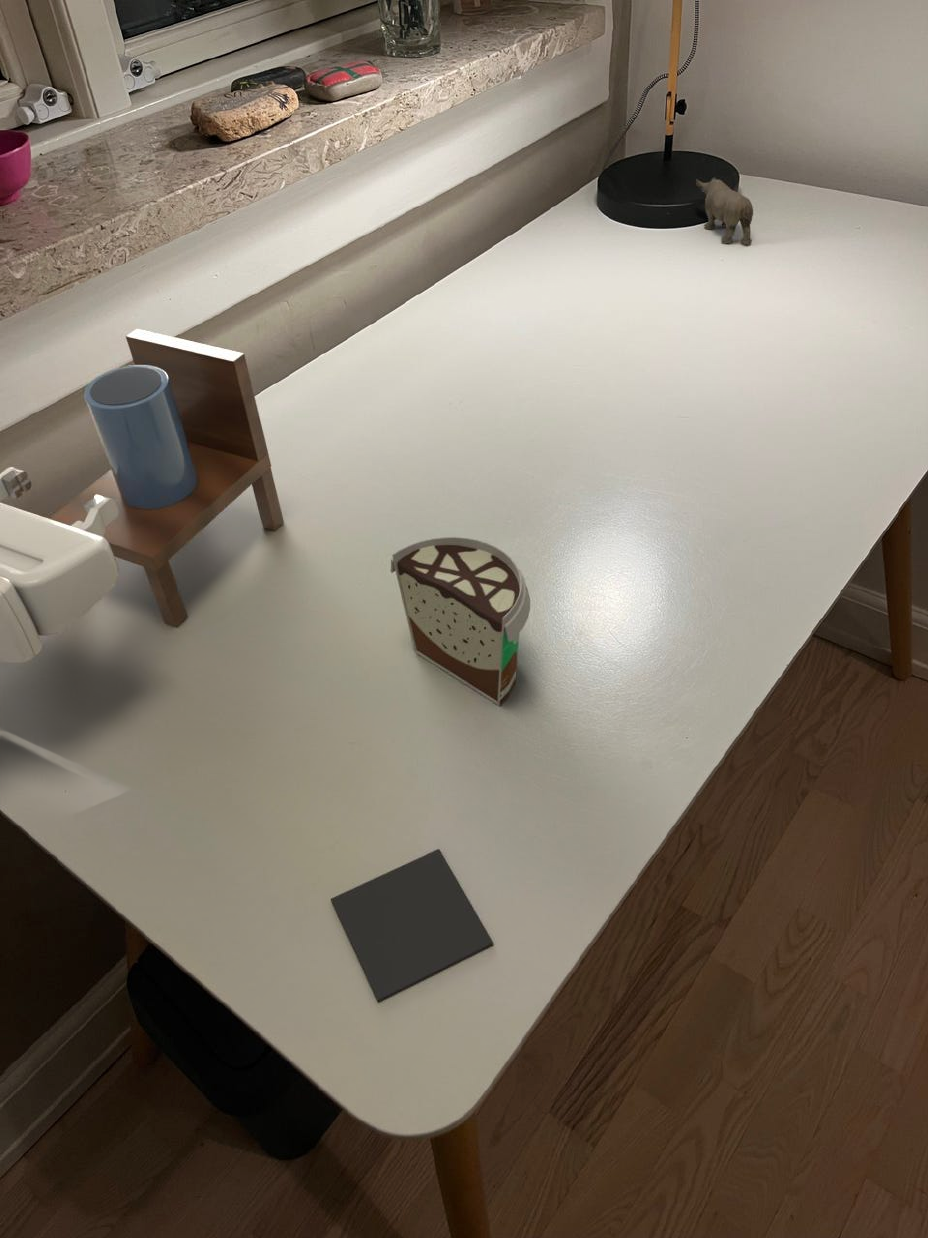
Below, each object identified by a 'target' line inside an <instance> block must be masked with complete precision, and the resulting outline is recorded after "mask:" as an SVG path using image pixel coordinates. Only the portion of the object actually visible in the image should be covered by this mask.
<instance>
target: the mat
mask: <svg viewBox="0 0 928 1238" xmlns="http://www.w3.org/2000/svg"><path fill="white" fill-rule="evenodd" d="M330 902H331V904H332V907H333V909H334V911H335V912H336V916H337V917H338V920H339V922H340V923H341V926H342V928H343V930H344V932H345V934H346V937H347V939H348V941H349V943H350V946H351V947H352V949H353V951H354V952H353V953H354V954H355V956H356V958H357V961H358V963H359V965H360V967H361V969H362V971H363V973H364V975H365V977H366V980H367V982H368V984H369V987H370V989H371V990H372V992H373V995H374V998H375V999H376V1002H377V1003H380V1002H382V1001H384V1000H386V999H388V998H390V997H392V996H394V995H397V994H398V993H400V992H402V991H404V990H406V989H408V988H410V987H412V986H414V985H416V984H419V983H421V982H422V981H424V980H425V979H428V978H430V977H432V976H434V975H436V974H438V973H440V972H442V971H444V970H446V969H448V968H450V967H453V966H454V965H456V964H458V963H460V962H462V961H464V960H466V959H468V958H470V957H472V956H474V955H476V954H478V953H480V952H482V951H484V950H486V949H488V948H491V947H492V946H494V941H493V940H492V938H491V936H490V934H489V933H488V931H487V929H486V928H485V926H484V924H483V922H482V921H481V919H480V916H479V915H478V914H477V912H476V910H475V908H474V907H473V905H472V903H471V901H470V900H469V898H468V897H467V895H466V893H465V891H464V889H463V888H462V885H461V884H460V882H459V881H458V879H457V877H456V875H455V874H454V872H453V870H452V868H451V867H450V865H449V863H448V862H447V860H446V858H445V856H444V855H443V853H442V851H441V850H440V848H437V849H435V850H433V851H431V852H429V853H427V854H425V855H423V856H420V857H418V858H416V859H413V860H412V861H409V862H407V863H405V864H403V865H400V866H399V867H397V868H394V869H392V870H389V871H388V872H385V873H383V874H381V875H379V876H377V877H375V878H373V879H370V880H369V881H366V882H364V883H362V884H359V885H358V886H356V887H353V888H351V889H348V890H346V891H344V892H342V893H340V894H338V895H336V896H334V897H331V898H330Z"/></svg>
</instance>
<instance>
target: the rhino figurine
mask: <svg viewBox="0 0 928 1238" xmlns="http://www.w3.org/2000/svg"><path fill="white" fill-rule="evenodd" d="M695 184H696V186H697V187H699V188H700V189H701V190H702V192H704V193H705V194H706V198H705V206H704V207H705V209H704V210H705V214H706V216H707V219H708V220H707V221H708V222H706V223H705V224H704V226H703V228H704V229H706V230H714V229H715V227H716V223H715V222H716V221H715V220H718V221H719V222H722V223H721V225H720V226H721V227H722V228H726V230H725V234H724V235H723V236H722V237H721V238H720V243H722V244H727V245H728V244H732V242H733V236H734V235H735V232H736V229H737V228H736V227H737V225H738V224H739V222H740V226H741V229H742V234H743V235H742V238H741V239H740V241H739V242H740V244H741V245H744V246H749V245H751V244H752V239H751V224H752V221H753V216H754V207H753V205H752V202H751V200H750V198H748V197H747V196H745V195H743V194H741V193H739V192H737V191H736V190H733V189H731V187H729V186H728V184H726V183H725V182H724V181H722V180H721V179H717V178H716V177H712V178H711V179H710V181H708V182H703V181H700V180H699V179H698V178H696V179H695Z"/></svg>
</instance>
